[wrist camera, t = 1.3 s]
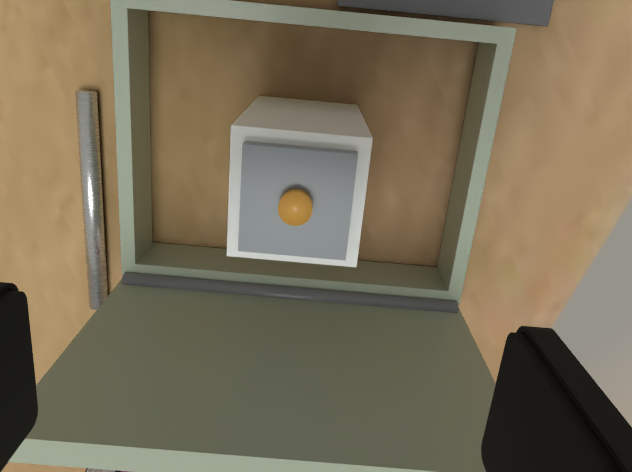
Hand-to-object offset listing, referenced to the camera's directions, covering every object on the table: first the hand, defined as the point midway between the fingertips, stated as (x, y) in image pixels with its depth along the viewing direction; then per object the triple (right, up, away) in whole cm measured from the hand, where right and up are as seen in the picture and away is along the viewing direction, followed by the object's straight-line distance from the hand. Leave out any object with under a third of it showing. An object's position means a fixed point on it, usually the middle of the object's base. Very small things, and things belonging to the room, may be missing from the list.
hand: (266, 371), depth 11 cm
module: (0, +7, +18) cm, 19 cm away
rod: (-11, +4, +19) cm, 22 cm away
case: (0, +7, +18) cm, 19 cm away
